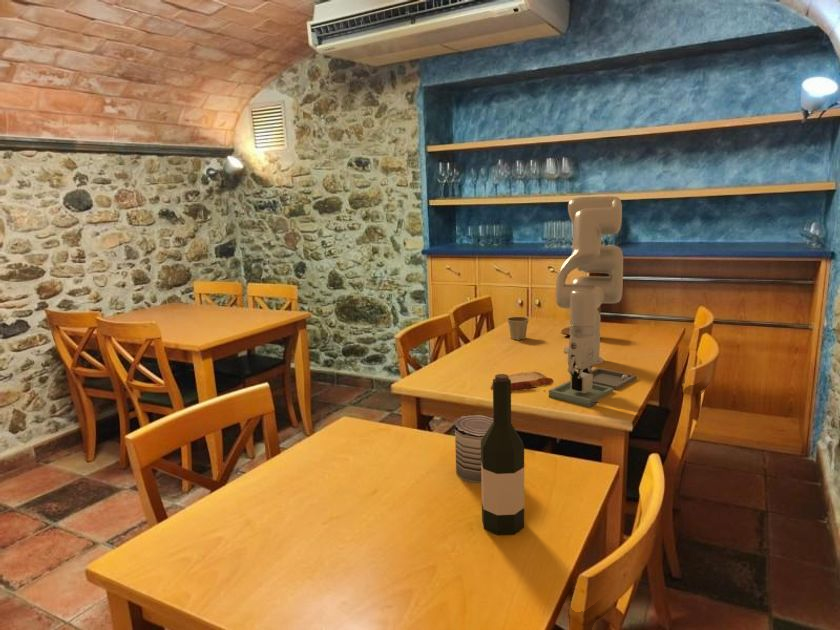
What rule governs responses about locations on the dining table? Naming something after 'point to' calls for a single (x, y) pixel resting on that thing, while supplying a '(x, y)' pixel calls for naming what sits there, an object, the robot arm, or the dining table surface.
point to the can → (470, 445)
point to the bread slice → (527, 380)
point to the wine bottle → (502, 467)
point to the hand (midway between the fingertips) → (581, 387)
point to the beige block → (584, 382)
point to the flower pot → (518, 327)
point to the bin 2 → (611, 378)
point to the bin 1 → (580, 394)
